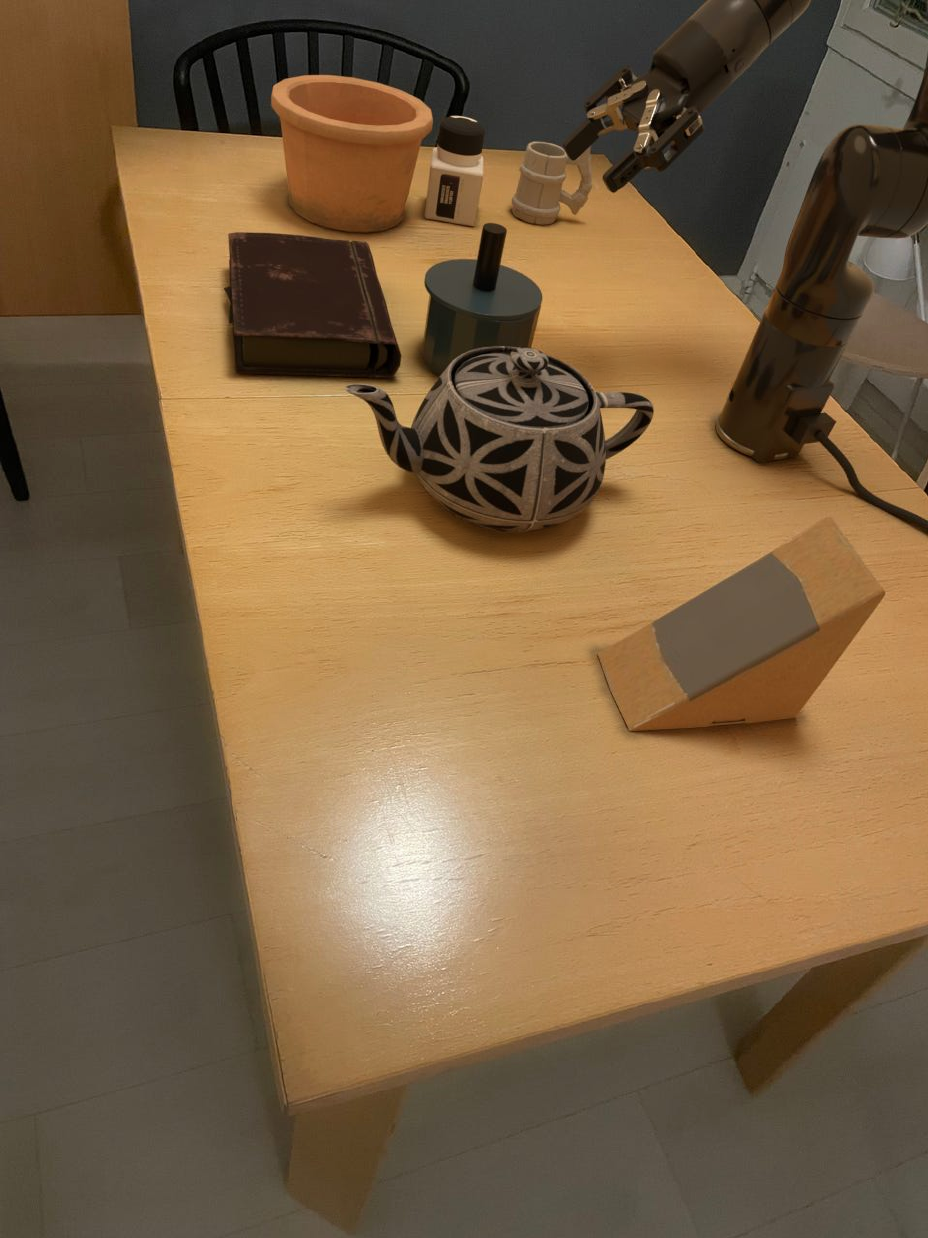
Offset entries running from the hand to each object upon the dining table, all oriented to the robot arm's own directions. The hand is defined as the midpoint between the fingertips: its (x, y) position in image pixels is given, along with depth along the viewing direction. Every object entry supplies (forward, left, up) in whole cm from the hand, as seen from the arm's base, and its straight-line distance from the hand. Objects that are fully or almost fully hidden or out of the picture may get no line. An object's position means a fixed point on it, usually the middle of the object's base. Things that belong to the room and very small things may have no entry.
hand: (586, 169), depth 92 cm
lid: (+1, +9, -13) cm, 16 cm away
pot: (0, +9, -22) cm, 24 cm away
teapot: (-23, +18, -22) cm, 37 cm away
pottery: (+43, +10, -22) cm, 49 cm away
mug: (+39, -22, -22) cm, 50 cm away
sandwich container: (-51, +12, -22) cm, 57 cm away
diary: (+12, +26, -22) cm, 36 cm away
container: (+41, -6, -22) cm, 47 cm away
